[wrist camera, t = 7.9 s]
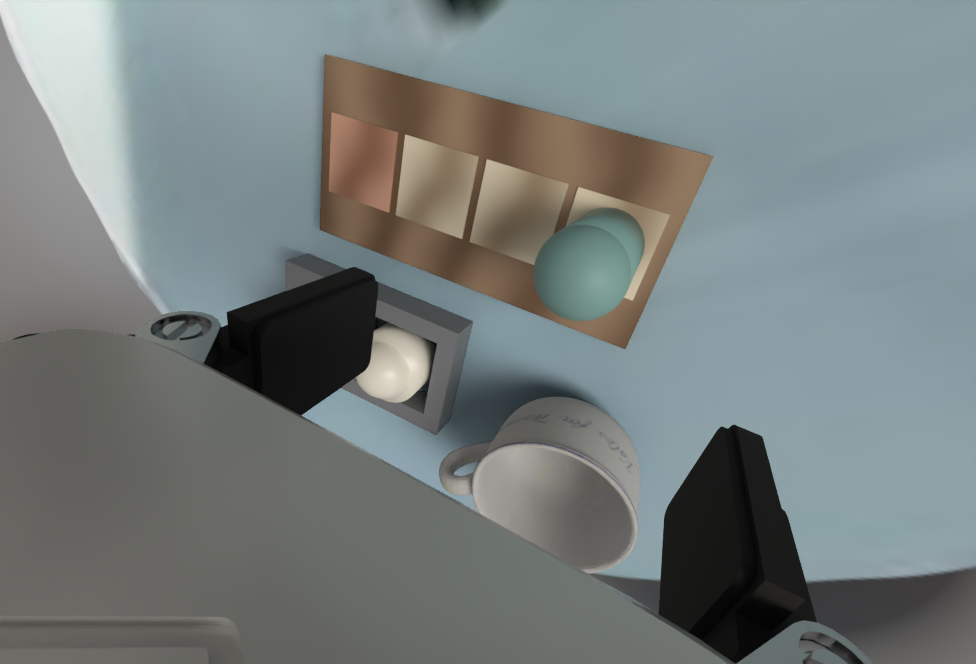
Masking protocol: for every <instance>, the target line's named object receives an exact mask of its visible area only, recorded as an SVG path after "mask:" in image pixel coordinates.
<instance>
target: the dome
mask: <svg viewBox="0 0 976 664" xmlns="http://www.w3.org/2000/svg"><path fill="white" fill-rule="evenodd" d="M435 352H436V347H435V345H434V343H433V341H430V340H428V339H426V338H423V337H421V336H419V335H416V334H414V333H412V332H410V331H407V330H405V329H403V328H400V327H398V326H396V325H394V324H391V323H389V322H388V323H386V324H384V325H383V326H381V327H379V328H378V329H376V330H374V333H373V343H372V352H371V360H370V364H369V366H368V367H367V369H366V370H365V371H364V372H363V373H361V374H360V375H358V376H357V377H356V380H357V382H358V384H359V386H360V387H361V388H362V389H363V390H364V391H365V392H366V393H367V394H369V395H371V396H373V397H376V398H380V399H382V400H385V401H388V402H393V403H398V402H403V401H406V400H408V399H409V398H410V397H412V396H413V395H414V394H415V393H416V392H417V391H418V390H419V389H420V388H421V387H422V386H423V385H424V384H425V383H426V382H427V381H429V380H430V378H431V373H432V368H433V363H434V357H435Z"/></svg>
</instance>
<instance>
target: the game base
mask: <svg viewBox="0 0 976 664" xmlns="http://www.w3.org/2000/svg"><path fill="white" fill-rule="evenodd" d="M343 270H346V269H344V268H341V267H339V266H337V265H334V264H332V263H329V262H327V261H324V260H322V259H320V258H317V257H315V256H312V255H310V254H307V255H304V256H300V257H297V258H294V259H290V260H287V261H286V291H288V290H291V289H293V288H296V287H299V286H302V285H304V284H307V283H310V282H313V281H316V280H318V279H321V278H324V277H327V276H330V275H332V274H335V273H338V272H341V271H343ZM377 283H378V282H377ZM377 317H378V318H380V319H382V320H384V321H387V322H389V323H391V324H394V325H396V326H398V327H400V328H403V329H405V330H407V331H410V332H412V333H414V334H416V335H419V336H421V337H423V338H426V339H428V340H430V341H433V342H435V343H437V347H436V352H435V357H434V363H433V368H432V373H431V378H430V383H429V388H428V393H425V392H423V391H421V390H418V391H417V392H416V393H415V394H414V395H413V396H412V397H410V398H409V399H408V400H406V401H403V402H398V403H393V402H388V401H385V400H382V399H380V398H376V397H373V396H371V395H369V394H367V393H366V392H365V391H364V390H363V389H362V388H361V387H360V386H359V384H358V382H357V380H356V377H355V378H354V379H353V380H351V381H350V382H348V383H347V384H345V385H344V386H343V387H341V388H342V389H344V390H346V391H348V392H350V393H352V394H354V395H356V396H358V397H361V398H363V399H365V400H367V401H369V402H371V403H373V404H375V405H377V406H379V407H381V408H383V409H385V410H387V411H389V412H391V413H393V414H395V415H397V416H399V417H401V418H403V419H405V420H407V421H409V422H411V423H413V424H415V425H417V426H419V427H421V428H423V429H425V430H427V431H429V432H431V433H433V434H435V435H437V434H438V432H439V431H440V430H441V429H442V428H443V426H444V425H445V424H446V423H447V422H448V421H449V419H450V417H451V412H452V408H453V404H454V400H455V396H456V391H457V387H458V383H459V379H460V374H461V370H462V366H463V362H464V358H465V353H466V349H467V345H468V341H469V336H470V332H471V328H472V324H473V321H470V320H468V319H465V318H463V317H460V316H458V315H456V314H453V313H451V312H448V311H446V310H443V309H441V308H439V307H436V306H434V305H431V304H429V303H426V302H424V301H422V300H419V299H417V298H414V297H412V296H409V295H407V294H405V293H402V292H400V291H397V290H395V289H392V288H390V287H388V286H385V285H383V284H380V283H378V297H377V306H376V315H375V324H374V330H376V326H377Z"/></svg>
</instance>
